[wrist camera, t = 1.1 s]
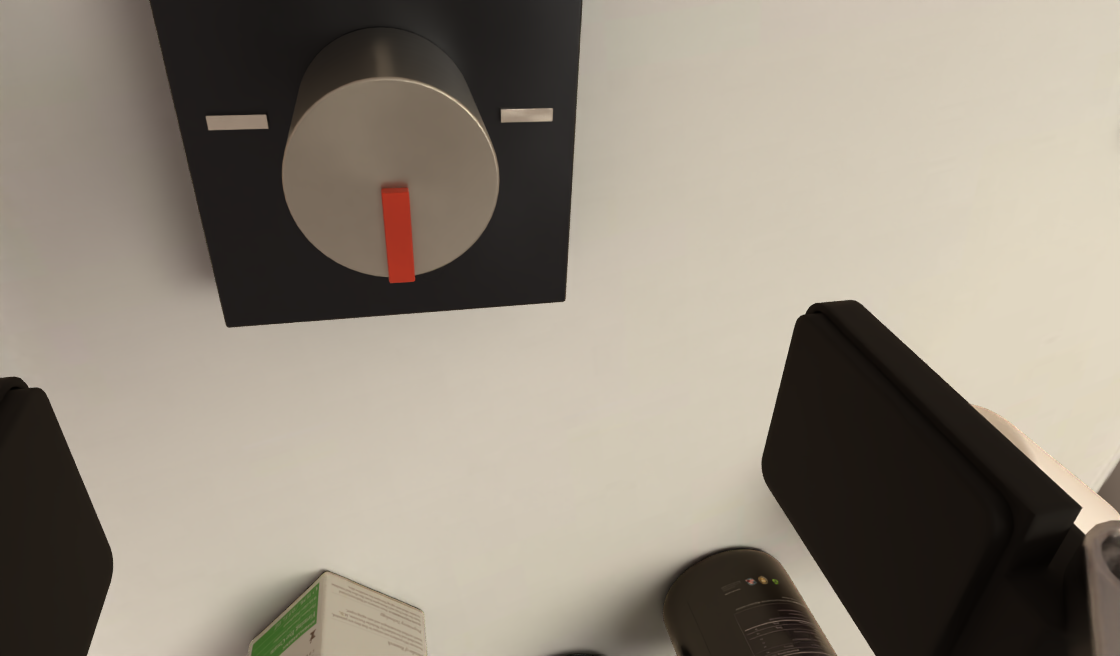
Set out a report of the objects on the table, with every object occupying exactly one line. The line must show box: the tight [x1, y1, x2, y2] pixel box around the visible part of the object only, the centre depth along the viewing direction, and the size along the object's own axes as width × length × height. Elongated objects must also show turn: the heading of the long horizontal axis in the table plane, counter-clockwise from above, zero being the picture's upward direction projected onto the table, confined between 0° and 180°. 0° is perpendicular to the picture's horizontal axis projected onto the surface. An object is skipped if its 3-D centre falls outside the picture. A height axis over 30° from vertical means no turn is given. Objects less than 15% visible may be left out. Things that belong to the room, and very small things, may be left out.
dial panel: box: [149, 0, 582, 327], centre depth 20 cm, size 12×10×3 cm
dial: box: [282, 27, 499, 283], centre depth 17 cm, size 4×4×5 cm
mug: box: [970, 404, 1120, 535], centre depth 32 cm, size 8×10×12 cm
